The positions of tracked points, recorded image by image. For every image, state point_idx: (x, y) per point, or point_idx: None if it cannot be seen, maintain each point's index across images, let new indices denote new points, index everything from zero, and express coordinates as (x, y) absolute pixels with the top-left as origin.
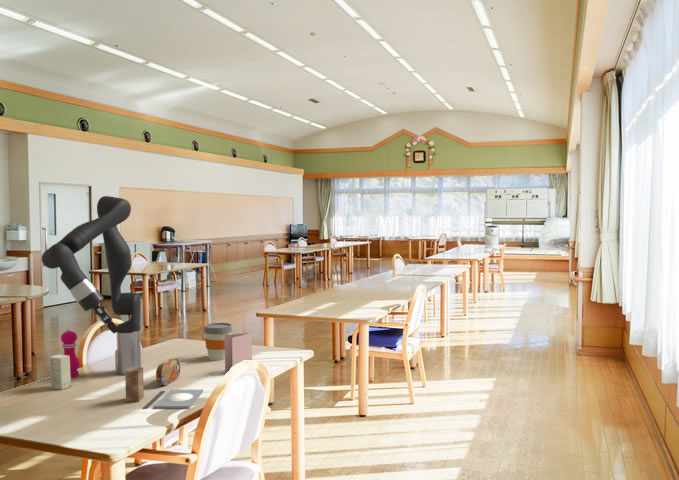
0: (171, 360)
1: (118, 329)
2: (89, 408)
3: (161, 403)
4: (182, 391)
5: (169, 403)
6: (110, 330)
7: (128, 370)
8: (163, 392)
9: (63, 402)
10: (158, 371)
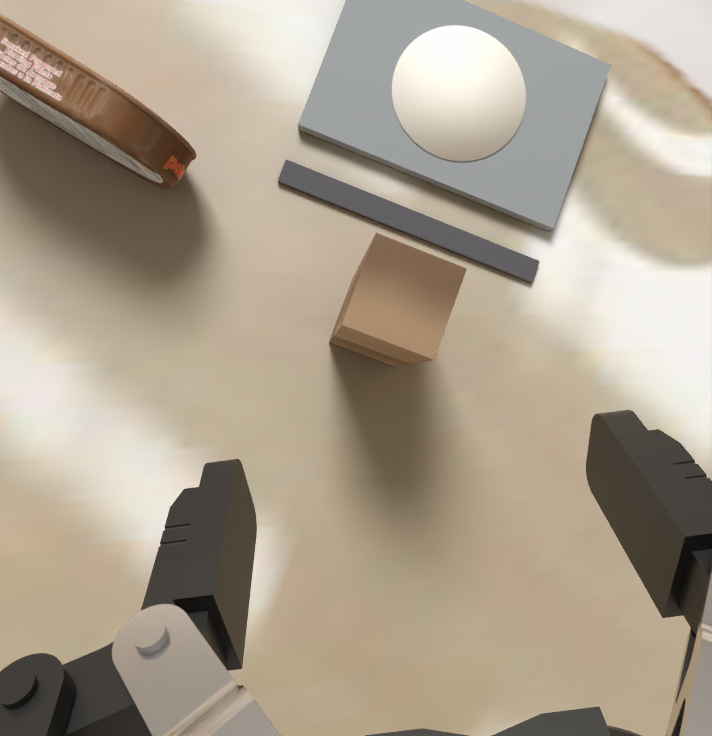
0: (20, 27)
1: (630, 414)
2: (437, 542)
3: (525, 189)
4: (357, 68)
5: (537, 151)
6: (254, 547)
7: (427, 336)
8: (310, 170)
9: (285, 693)
10: (163, 152)
